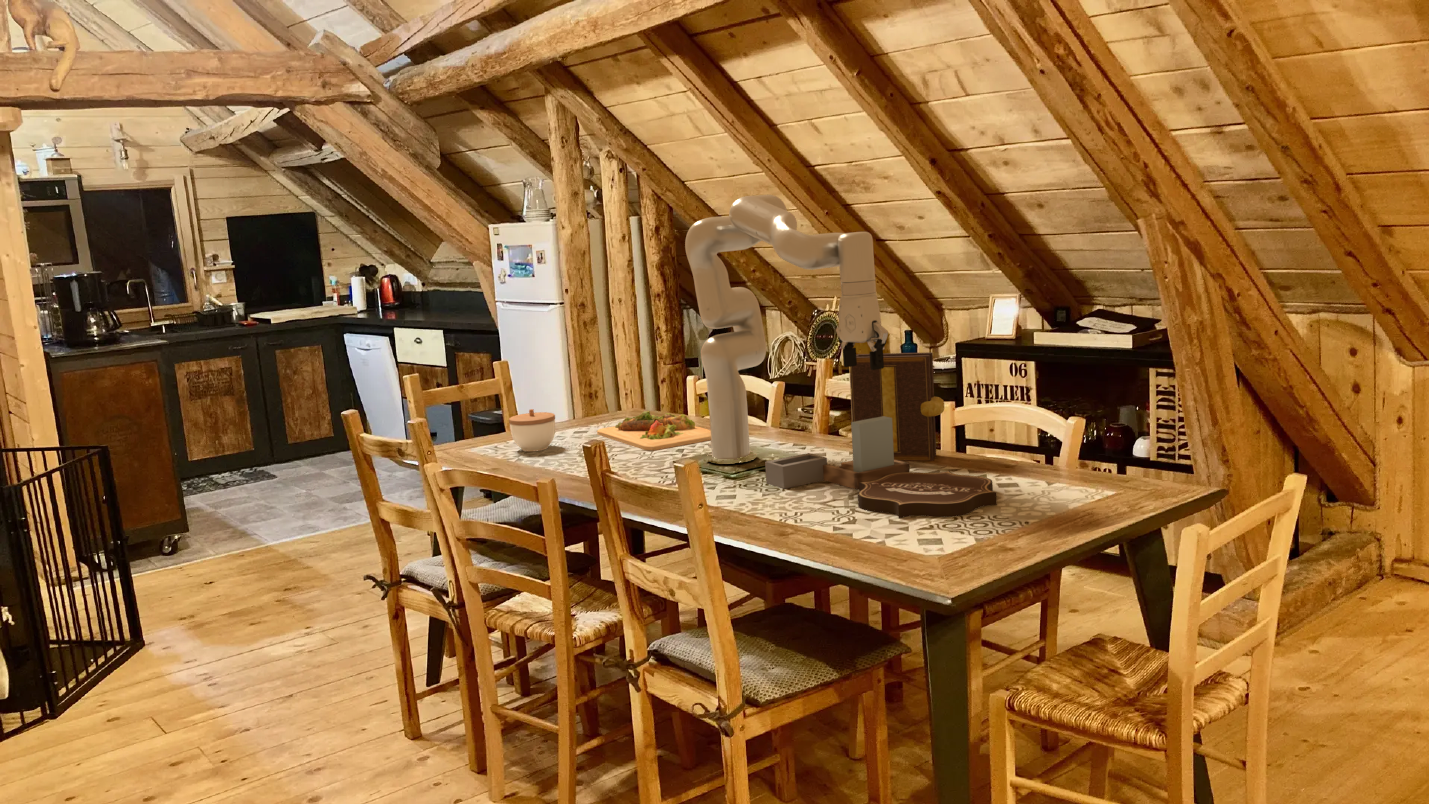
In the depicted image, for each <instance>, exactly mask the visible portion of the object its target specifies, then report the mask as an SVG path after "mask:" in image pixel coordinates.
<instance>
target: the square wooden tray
mask: <svg viewBox="0 0 1429 804" xmlns="http://www.w3.org/2000/svg"><path fill="white" fill-rule="evenodd" d="M901 472H911V470H910V463H909V462H906V461H898V460H894V465H891V466H887V467H882V468H878V469H873V470H868V471H864V472H859V473H858V472H854V471H851V470H847V469H843V468H841V465H838V466H836V465H831V464H828V463H827V464H826V465H823V476H824V480H823V481H825V482H829V483H832V484H835V485H838V486H843V487H846V488H849V489H853V490H855V491H856V490H857V491H859V482H869V481H874V480H877V479H880V478H882V477H884V476H886V475H889V474H893V473H901Z"/></svg>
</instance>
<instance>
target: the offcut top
mask: <svg viewBox="0 0 1429 804" xmlns="http://www.w3.org/2000/svg"><path fill="white" fill-rule="evenodd" d="M840 464H841V465H840V466H841V468H843V469H847V470H851V471H854V469H853V459H852V460H848V461H847V460H846V461H844V462H843V461H842V462H840Z"/></svg>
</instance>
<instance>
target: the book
mask: <svg viewBox="0 0 1429 804" xmlns="http://www.w3.org/2000/svg"><path fill="white" fill-rule="evenodd" d="M856 358H857V365H856V366H851V367H848V368H849V370H848V371H849V387H850V389H849V390H850V405H851V406H850V407H851V408H850V409H851V422H855V421H861V420H866V419H871V418H877V417H882V416H885V417H890V418H892V428H893V451H894V460H898V461H902V462H906V461H907V462H909V461H910V462H912V461H913V462H932V461H934V457H937V444H936V443H937V439H936V438H937V437H936V418H935V417H937V416H939V415H941V414H943V412H944V411H945V401H944V399H942V398H941V397H939V396H935V387H934V384H935V383H934V362H933V361H934V359H933V358H934V357H933V352H893V353H891V352H889V353H888V352H887V353H883V360H884V368H883V369H877V370H871V368H870V353H858V354H857V353H856Z"/></svg>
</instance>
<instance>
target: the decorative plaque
mask: <svg viewBox="0 0 1429 804" xmlns="http://www.w3.org/2000/svg"><path fill="white" fill-rule="evenodd" d="M997 500H998V499H997V491H993V480H992V479H991V478H988V477H985V476H979V475H968V474H959V473H958V474H957V473H953V472H951V470H948V471H942V472H917V471H916V472H915V471H914V472H913V471H910V472H901V473H893V474H889V475H886V476H884V477H882V478H880V479H877V480H874V481H869V482H859V490H858V492H857V506H858V508H859V509H861V510H863V511H866V510H867V512H872V513H873V512H874V513H880V514H881V513H882V514H883V513H884V514H890V515H893V516H894V515H895V516H897V517H898V519H901V518H907V517H908V518H909V517H931V518H932V517H933V518H953V517H961V516H965V515H969V514H970V513H972V512H973V511H975V510H977V509H979V508H982V507H987V506H997V505H998V503H997Z"/></svg>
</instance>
